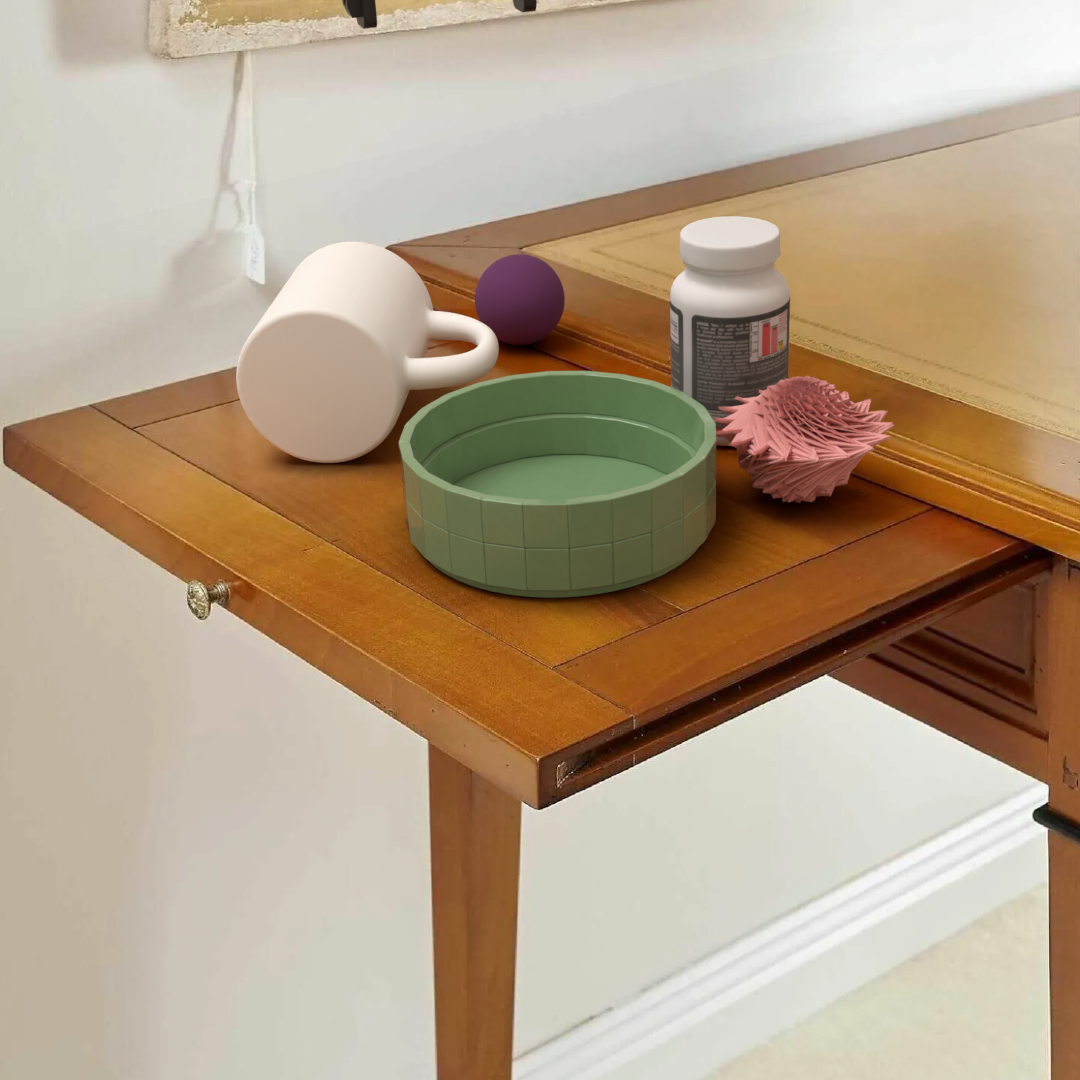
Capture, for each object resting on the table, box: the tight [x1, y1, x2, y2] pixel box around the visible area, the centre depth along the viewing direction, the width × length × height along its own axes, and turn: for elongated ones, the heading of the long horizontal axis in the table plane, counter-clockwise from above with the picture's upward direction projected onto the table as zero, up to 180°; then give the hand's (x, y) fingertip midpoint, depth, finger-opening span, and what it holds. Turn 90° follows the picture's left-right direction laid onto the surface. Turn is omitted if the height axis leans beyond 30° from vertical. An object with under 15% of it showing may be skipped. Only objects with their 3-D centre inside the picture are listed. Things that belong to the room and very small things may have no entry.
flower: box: [713, 375, 895, 504], centre depth 73 cm, size 8×8×6 cm
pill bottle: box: [669, 215, 791, 447], centre depth 78 cm, size 6×6×10 cm
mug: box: [235, 241, 500, 464], centre depth 81 cm, size 12×10×8 cm
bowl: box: [398, 370, 717, 599], centre depth 71 cm, size 14×14×4 cm
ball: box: [474, 253, 566, 346], centre depth 91 cm, size 5×5×5 cm
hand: (447, 17), depth 85 cm, fingers open, 8 cm apart
